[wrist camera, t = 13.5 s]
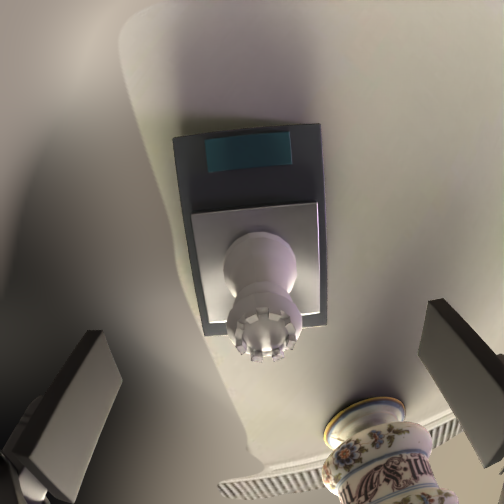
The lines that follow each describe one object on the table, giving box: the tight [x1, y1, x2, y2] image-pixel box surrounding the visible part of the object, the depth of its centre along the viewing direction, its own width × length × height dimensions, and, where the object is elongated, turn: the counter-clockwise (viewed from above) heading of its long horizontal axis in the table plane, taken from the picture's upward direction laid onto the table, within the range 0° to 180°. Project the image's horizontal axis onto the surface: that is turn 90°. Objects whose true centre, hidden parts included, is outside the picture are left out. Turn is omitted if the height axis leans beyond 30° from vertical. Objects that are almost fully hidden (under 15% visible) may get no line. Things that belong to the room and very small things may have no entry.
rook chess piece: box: [223, 232, 302, 363], centre depth 16 cm, size 4×4×8 cm
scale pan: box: [191, 200, 320, 323], centre depth 21 cm, size 8×8×1 cm
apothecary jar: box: [322, 397, 459, 504], centre depth 23 cm, size 12×12×18 cm
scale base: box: [172, 123, 327, 336], centre depth 22 cm, size 14×9×3 cm, turn 5°
